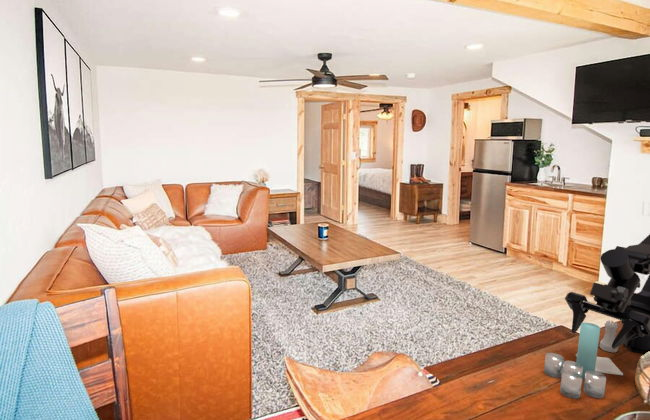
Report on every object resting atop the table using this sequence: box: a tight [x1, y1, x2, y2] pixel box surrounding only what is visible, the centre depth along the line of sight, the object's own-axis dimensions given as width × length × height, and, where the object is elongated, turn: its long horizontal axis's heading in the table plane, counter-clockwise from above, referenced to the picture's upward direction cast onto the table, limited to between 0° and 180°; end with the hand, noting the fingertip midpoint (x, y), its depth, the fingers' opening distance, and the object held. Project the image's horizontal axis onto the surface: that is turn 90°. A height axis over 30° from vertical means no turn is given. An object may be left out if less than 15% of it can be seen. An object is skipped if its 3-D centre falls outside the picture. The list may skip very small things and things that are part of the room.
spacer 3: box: [582, 370, 607, 399], centre depth 93 cm, size 4×4×4 cm
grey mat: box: [575, 353, 624, 376], centre depth 106 cm, size 8×8×1 cm
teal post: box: [575, 322, 601, 380], centre depth 100 cm, size 4×4×13 cm
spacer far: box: [559, 371, 584, 400], centre depth 93 cm, size 4×4×4 cm
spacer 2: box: [563, 360, 583, 376], centre depth 98 cm, size 4×4×4 cm
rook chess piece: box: [598, 320, 619, 354], centre depth 114 cm, size 4×4×8 cm
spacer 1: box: [543, 352, 565, 379], centre depth 101 cm, size 4×4×4 cm
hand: (591, 339), depth 100 cm, fingers open, 9 cm apart
